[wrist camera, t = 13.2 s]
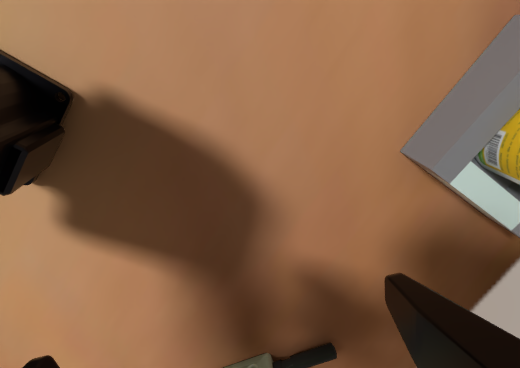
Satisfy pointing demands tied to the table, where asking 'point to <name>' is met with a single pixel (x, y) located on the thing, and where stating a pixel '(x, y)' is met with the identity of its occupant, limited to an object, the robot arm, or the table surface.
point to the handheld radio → (291, 359)
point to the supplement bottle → (504, 151)
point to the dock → (475, 130)
